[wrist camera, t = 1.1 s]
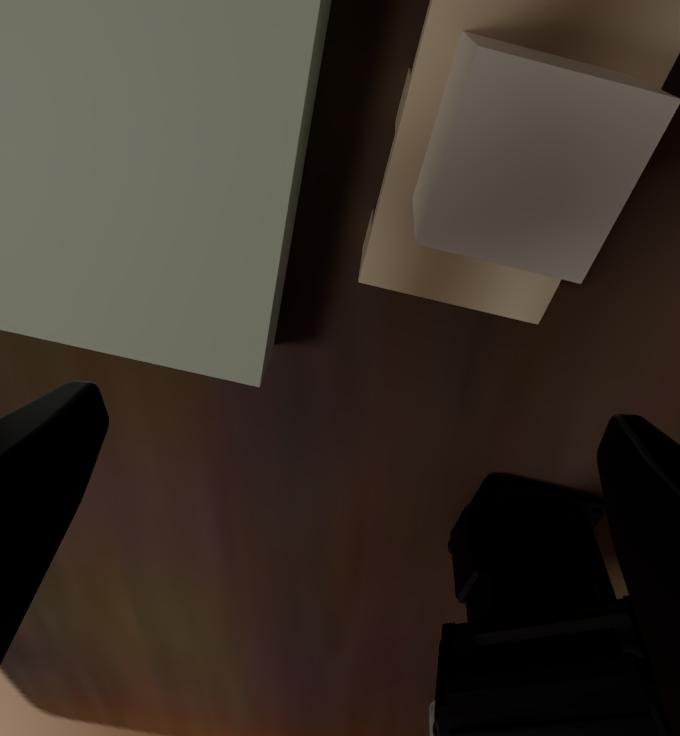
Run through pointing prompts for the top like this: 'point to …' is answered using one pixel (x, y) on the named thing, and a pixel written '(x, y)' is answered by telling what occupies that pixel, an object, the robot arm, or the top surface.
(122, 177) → the dock
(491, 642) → the robot arm
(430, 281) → the tall tan box
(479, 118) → the box
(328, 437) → the top surface
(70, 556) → the top surface
